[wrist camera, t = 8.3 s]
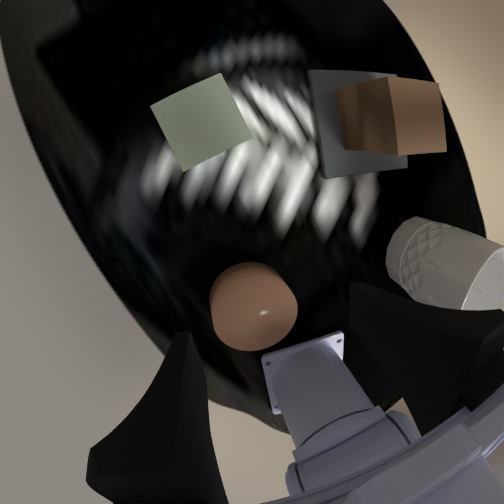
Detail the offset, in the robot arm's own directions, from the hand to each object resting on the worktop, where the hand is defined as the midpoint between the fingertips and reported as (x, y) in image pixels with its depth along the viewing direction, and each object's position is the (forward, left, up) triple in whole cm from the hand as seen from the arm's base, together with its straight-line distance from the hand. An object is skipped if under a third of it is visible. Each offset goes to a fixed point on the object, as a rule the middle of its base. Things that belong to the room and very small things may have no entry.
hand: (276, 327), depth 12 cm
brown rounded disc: (-4, 0, -10) cm, 10 cm away
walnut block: (+8, -11, -9) cm, 16 cm away
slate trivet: (+8, -11, -9) cm, 17 cm away
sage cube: (+9, +1, -10) cm, 13 cm away
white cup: (-4, -16, -10) cm, 19 cm away
